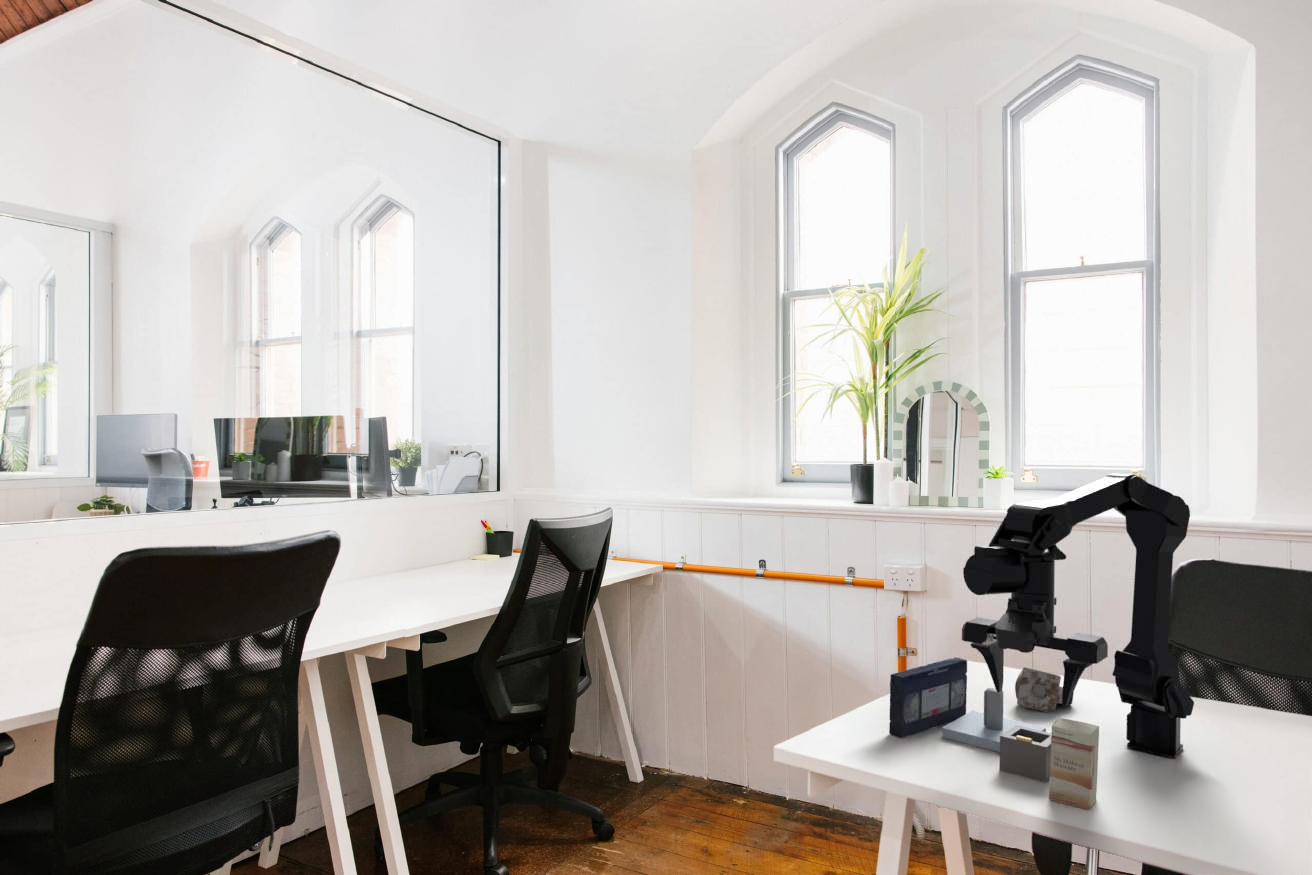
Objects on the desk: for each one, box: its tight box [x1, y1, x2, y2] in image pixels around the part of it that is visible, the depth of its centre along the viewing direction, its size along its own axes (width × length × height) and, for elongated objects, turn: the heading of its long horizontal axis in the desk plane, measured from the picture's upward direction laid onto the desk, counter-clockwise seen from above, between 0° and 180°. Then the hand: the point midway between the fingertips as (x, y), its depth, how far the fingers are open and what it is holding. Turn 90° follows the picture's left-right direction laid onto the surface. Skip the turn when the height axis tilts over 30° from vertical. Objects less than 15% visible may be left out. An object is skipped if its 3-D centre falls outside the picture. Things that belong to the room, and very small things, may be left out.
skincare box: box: [1048, 717, 1100, 811], centre depth 112 cm, size 5×4×10 cm
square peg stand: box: [941, 687, 1047, 753], centre depth 135 cm, size 12×12×8 cm
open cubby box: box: [998, 725, 1052, 784], centre depth 122 cm, size 6×6×5 cm
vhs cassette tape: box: [888, 657, 968, 739], centre depth 140 cm, size 18×3×10 cm, turn 126°
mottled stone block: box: [1014, 667, 1075, 714], centre depth 153 cm, size 7×11×10 cm
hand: (1031, 698), depth 122 cm, fingers open, 9 cm apart
